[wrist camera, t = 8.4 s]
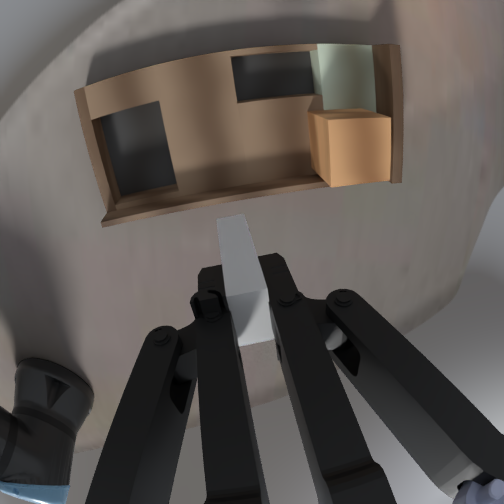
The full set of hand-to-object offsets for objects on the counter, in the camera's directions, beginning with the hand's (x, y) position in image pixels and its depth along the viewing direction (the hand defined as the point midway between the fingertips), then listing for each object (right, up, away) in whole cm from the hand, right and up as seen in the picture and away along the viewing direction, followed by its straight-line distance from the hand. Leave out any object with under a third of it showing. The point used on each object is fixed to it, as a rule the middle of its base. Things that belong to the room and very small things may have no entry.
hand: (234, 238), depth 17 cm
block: (+8, +9, +8) cm, 15 cm away
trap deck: (0, +11, +8) cm, 14 cm away
